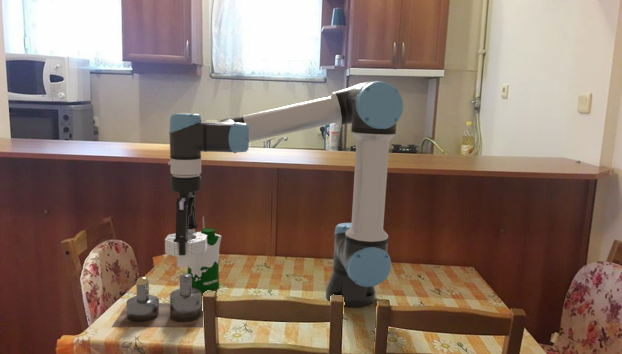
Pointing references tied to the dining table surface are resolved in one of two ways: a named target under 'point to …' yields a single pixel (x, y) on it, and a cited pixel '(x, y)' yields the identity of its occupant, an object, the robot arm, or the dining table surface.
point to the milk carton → (206, 264)
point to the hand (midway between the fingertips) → (186, 259)
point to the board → (157, 319)
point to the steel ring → (195, 244)
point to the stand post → (185, 301)
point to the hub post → (142, 303)
